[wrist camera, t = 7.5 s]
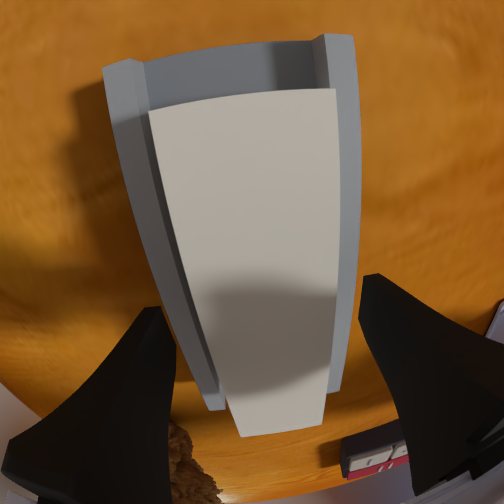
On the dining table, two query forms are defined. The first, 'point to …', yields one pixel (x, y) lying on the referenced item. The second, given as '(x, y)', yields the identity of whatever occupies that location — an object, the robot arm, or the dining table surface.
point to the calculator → (373, 450)
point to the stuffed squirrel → (188, 472)
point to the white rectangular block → (259, 243)
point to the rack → (220, 85)
